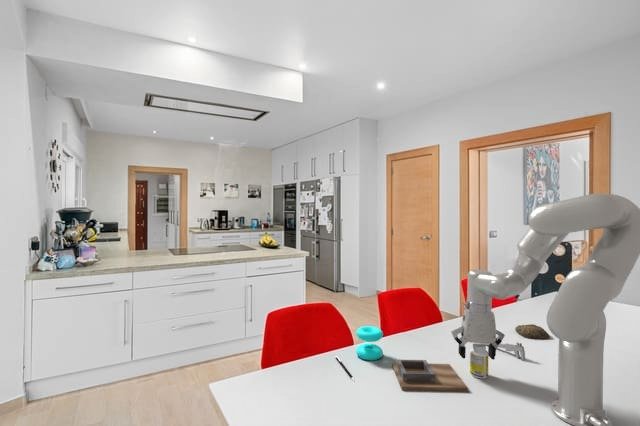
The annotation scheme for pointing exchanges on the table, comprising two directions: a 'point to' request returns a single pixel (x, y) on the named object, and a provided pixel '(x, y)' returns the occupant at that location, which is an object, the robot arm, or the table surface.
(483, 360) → the supplement bottle
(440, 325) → the table surface
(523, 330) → the bread roll
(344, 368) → the pen
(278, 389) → the table surface
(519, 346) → the caliper
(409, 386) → the board
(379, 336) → the donuts
